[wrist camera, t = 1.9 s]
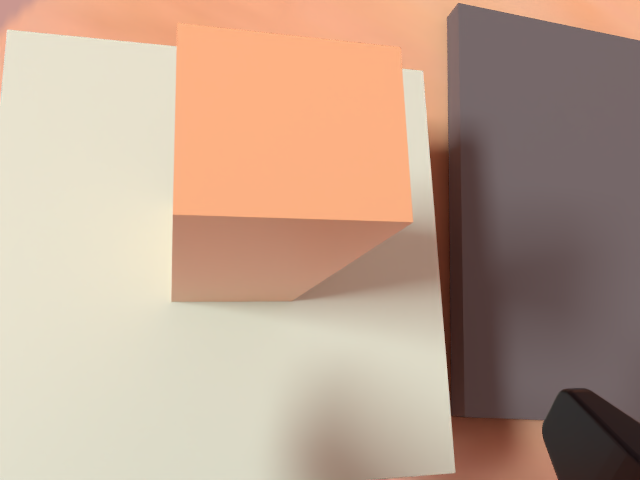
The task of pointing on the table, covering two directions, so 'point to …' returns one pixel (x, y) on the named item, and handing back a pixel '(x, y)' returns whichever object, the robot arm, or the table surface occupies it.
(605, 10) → the table surface
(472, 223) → the mat
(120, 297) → the lid
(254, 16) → the table surface
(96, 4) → the table surface
